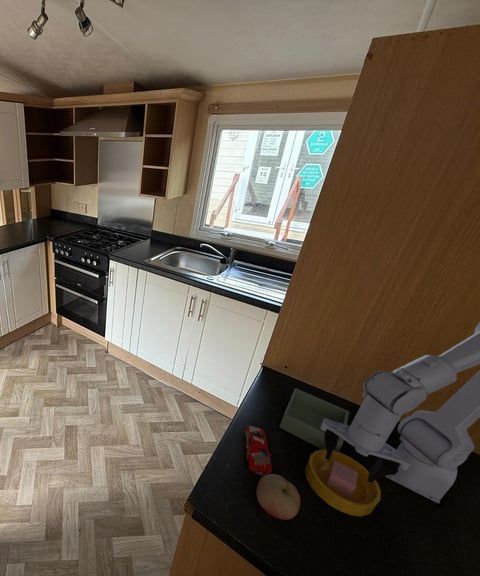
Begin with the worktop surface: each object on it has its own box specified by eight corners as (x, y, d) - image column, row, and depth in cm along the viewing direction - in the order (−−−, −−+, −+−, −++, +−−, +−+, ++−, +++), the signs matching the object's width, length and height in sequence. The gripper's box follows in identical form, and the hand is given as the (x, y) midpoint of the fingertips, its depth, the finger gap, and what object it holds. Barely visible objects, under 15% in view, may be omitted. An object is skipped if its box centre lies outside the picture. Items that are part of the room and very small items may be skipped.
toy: (350, 484, 73) (357, 472, 71) (348, 499, 70) (355, 487, 68) (328, 472, 75) (334, 460, 73) (325, 485, 72) (331, 473, 70)
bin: (342, 425, 88) (349, 411, 86) (335, 457, 79) (343, 443, 77) (290, 401, 96) (295, 388, 93) (278, 428, 87) (284, 414, 85)
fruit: (286, 536, 64) (297, 514, 60) (247, 506, 69) (255, 484, 65) (298, 508, 68) (310, 485, 65) (261, 481, 74) (269, 459, 70)
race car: (271, 481, 74) (275, 471, 72) (246, 474, 75) (250, 463, 74) (264, 435, 85) (268, 425, 83) (242, 430, 86) (246, 420, 85)
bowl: (375, 484, 73) (382, 473, 71) (371, 532, 64) (379, 521, 63) (310, 450, 81) (315, 439, 79) (299, 488, 72) (304, 477, 70)
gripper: (327, 417, 65) (307, 459, 71) (421, 460, 57) (390, 504, 63) (332, 398, 70) (313, 439, 76) (420, 435, 61) (390, 478, 67)
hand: (348, 467), depth 70 cm, fingers open, 7 cm apart
